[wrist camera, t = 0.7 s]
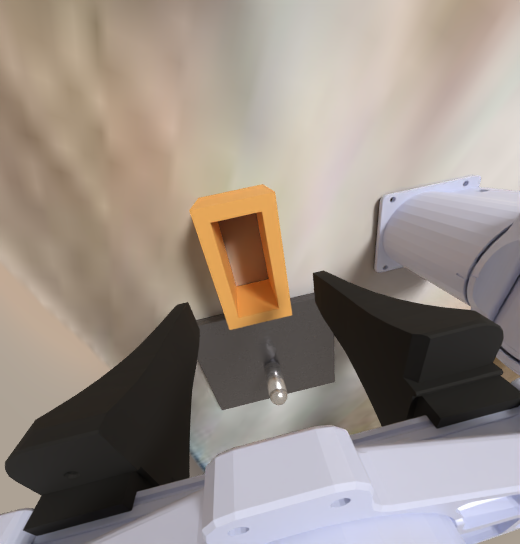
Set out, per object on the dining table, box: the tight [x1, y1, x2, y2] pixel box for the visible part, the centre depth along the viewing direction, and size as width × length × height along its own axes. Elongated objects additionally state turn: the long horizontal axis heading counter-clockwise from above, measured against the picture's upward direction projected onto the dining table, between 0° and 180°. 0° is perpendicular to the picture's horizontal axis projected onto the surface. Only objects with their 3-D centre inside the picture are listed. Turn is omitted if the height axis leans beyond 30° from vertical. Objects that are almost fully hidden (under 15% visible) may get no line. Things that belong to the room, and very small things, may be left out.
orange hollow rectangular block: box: [189, 184, 292, 330], centre depth 18 cm, size 5×10×5 cm, turn 11°
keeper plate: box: [196, 293, 335, 410], centre depth 24 cm, size 16×15×6 cm
